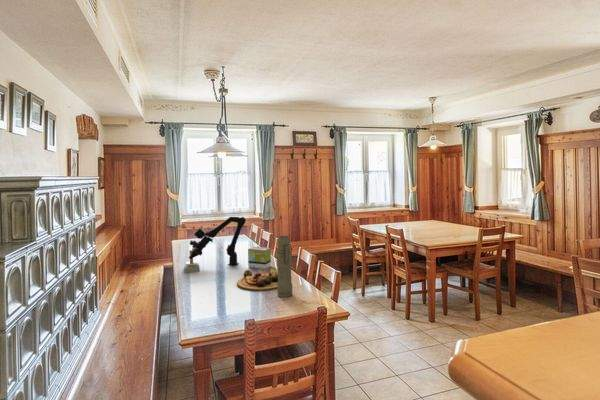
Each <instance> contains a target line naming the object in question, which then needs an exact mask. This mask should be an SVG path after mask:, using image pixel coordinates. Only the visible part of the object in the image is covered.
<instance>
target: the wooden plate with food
mask: <svg viewBox="0 0 600 400" xmlns="http://www.w3.org/2000/svg"><path fill="white" fill-rule="evenodd" d="M277 284H278V271H276V270H275V269H274V268H271V269H270V271H269V272H268V273H263V272H261V271H258V272H255V273H254V274H253V272H252V270H250V269H245V270H244V272H243V277H241V278H239V279H238V280H237V281H236V286H237V288H239V289H241V290H245V291H251V292H264V291H266V290H267V291H273V290H277Z"/></svg>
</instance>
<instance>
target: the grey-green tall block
mask: <svg viewBox="0 0 600 400" xmlns="http://www.w3.org/2000/svg"><path fill="white" fill-rule="evenodd" d="M276 244H277V255H276V267H277V274H278V284H277V289H276V291H277V297H278V298H282V299H285V298H286V299H288V298H291V297H293V289H294V288H293V282H292V267H293V257H292V254H291V249H292V247H291V238H290V236H288V235H279V236H278V238H277V243H276Z"/></svg>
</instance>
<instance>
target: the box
mask: <svg viewBox="0 0 600 400" xmlns="http://www.w3.org/2000/svg"><path fill="white" fill-rule="evenodd" d="M184 271H185V273H196V272H200V263H199V262H197V265H189V266H186V263H184Z"/></svg>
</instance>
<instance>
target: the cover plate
mask: <svg viewBox="0 0 600 400" xmlns="http://www.w3.org/2000/svg"><path fill="white" fill-rule="evenodd" d="M192 253H193V250H192V249H191V250H189V256H191V255H192ZM185 264H186V266H189V265H198V261H197V260H194V258H192V259H189V261H185Z"/></svg>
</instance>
